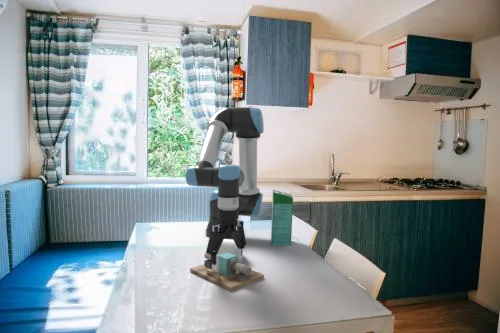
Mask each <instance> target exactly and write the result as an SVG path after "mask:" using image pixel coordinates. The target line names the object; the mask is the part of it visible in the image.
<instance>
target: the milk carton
mask: <svg viewBox="0 0 500 333" xmlns="http://www.w3.org/2000/svg"><path fill="white" fill-rule="evenodd" d="M271 201H272V203H271V204H272V206H271V228H270V229H271V230H270V231H271V232H270V233H271V234H270V241H271V242H270V243H271V246H288V247H289V246H292V234H293V233H292V230H293V227H292V226H293V204H294V198H293V196H292V194H291V192H289V191H286V190H282V191H279V190H275V189H272V200H271Z"/></svg>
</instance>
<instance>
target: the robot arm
mask: <svg viewBox="0 0 500 333" xmlns="http://www.w3.org/2000/svg"><path fill="white" fill-rule="evenodd" d="M263 116H264V115H263V113H262V110H261V109H260V108H257V107H253V106H252V107H246V106H245V107H241V106H240V107H239V106H238V107H235V106H234V107H232V106H229V107H224V108H221V109H220V110H218V111H217V112H216V113H214V114H213V116H211V118H210V119H209V120H208V123H207V125H206V130H207V132H206V134H205V137H204V141H203V143H202V146H201V148H200V152H199V154H198V157H197V159H196V160H197V161H196V163H195V166H194V165H193V166H188V167H187V169H186V171H185V181H186V182H185V183H186V184H187V185H188V186H191V187H206V188H207V187H209V188H211V187H212V188H217V189H216V190H212V191H211V192H210V195H209V220H208V222H207V226H206V229H205V236H206V237H208V238H209V239H208V242H207V246H206V252H205V253H207V254H209V255H211V264H212V271H215V272H217V273H219V255H217V254H218V251H219V249H220V247H221V244H222V242H223V240H224V239H229V238H230V239H232V240H234V242H235V244H236V246H237V247H235V252H234V255H236V256H237V259H238V260H239V263H240V264H241V262H242V259H241V256H242V257H243V255H242V249H243V250H244V249H245V247H246V246H247V240H246V234H245V228H244V224H245V222H244V221H243V220H241V219H240V220H239V216H240V217H241V216H242V217H243V216H244V217H258V216H259V215H260V213H261V208H262V203H263V198H264V197H263V195H264V194H263V193H262V192H260V191H261V190H260V188H259V187H258V183H257V182H258V141H259V139H260V137H261V135H262V134H263V133H264V129H265V128H264V117H263ZM228 133H235V137H236V139H237V140H238V151H239V152H238V154H239V155H238V156H239V157H238V158H239V160H238V163H239V164H237V165H236V164H221V165H220V166H219V167H216V163H217V160H218V157H219V154H220V151H221V148H222V144H223V140H224V137H225V136H227V134H228Z"/></svg>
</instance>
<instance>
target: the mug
mask: <svg viewBox="0 0 500 333" xmlns="http://www.w3.org/2000/svg"><path fill="white" fill-rule="evenodd" d="M235 247H237V246H236V244H235V242H234V240H233V238H230V239H229V238H224V240H223V242H222V244H221V247H220V249H219V251H218V254H219V253H227V252H228V253H231V254H233V255H234V252H235ZM243 254H244V249H242V256H241V260H242V259H243Z"/></svg>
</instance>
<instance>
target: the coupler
mask: <svg viewBox="0 0 500 333" xmlns="http://www.w3.org/2000/svg"><path fill="white" fill-rule="evenodd" d="M233 258H236V259H237V256H236V255H233V254H231V253H228V252H227V253H223V254H220V255H219V273H221V274H223V275H229V274H232V273H231V272H229V270H228V263H229V261H230V260H231V259H233Z"/></svg>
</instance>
